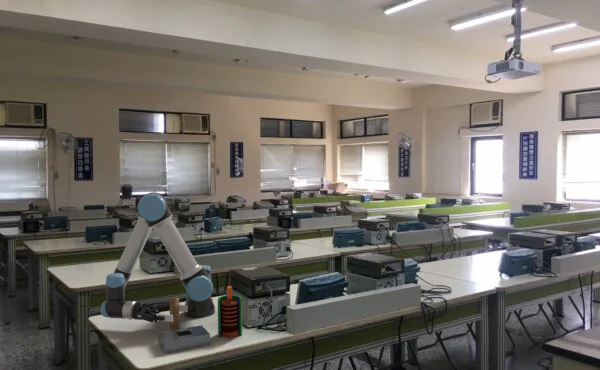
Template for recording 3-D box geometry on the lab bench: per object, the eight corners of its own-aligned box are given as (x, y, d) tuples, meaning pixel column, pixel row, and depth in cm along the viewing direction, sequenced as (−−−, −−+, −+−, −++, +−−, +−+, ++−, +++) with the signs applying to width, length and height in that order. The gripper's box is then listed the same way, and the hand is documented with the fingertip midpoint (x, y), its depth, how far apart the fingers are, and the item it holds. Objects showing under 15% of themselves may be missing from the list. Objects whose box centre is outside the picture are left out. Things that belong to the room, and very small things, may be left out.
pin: (178, 330, 212) (177, 296, 211) (180, 332, 209) (180, 298, 208) (169, 331, 210) (168, 297, 210) (171, 334, 207) (170, 299, 206)
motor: (220, 339, 200) (219, 291, 199) (215, 332, 208) (215, 286, 208) (244, 336, 204) (243, 289, 203) (238, 329, 212) (238, 284, 211)
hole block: (201, 335, 205) (201, 325, 204) (210, 345, 194) (210, 334, 194) (158, 343, 196) (158, 332, 196) (164, 353, 186) (164, 342, 186)
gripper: (150, 310, 225) (192, 313, 221) (119, 328, 201) (166, 331, 196) (150, 294, 225) (192, 296, 220) (118, 310, 201) (165, 313, 196)
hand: (180, 313), depth 208 cm, fingers open, 13 cm apart
